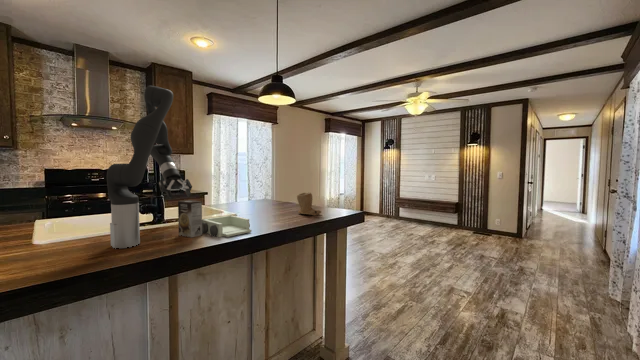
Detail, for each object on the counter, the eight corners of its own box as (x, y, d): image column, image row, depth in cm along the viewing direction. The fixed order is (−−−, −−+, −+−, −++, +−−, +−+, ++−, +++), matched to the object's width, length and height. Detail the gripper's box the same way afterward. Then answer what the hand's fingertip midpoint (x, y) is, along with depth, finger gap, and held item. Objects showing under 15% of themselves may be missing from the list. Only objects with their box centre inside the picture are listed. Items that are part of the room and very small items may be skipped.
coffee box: (177, 235, 130) (177, 201, 129) (190, 232, 136) (189, 199, 135) (191, 237, 126) (190, 202, 125) (202, 234, 132) (202, 200, 131)
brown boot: (293, 214, 188) (293, 192, 187) (305, 212, 197) (305, 191, 196) (309, 217, 178) (309, 193, 177) (321, 214, 187) (322, 192, 186)
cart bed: (221, 239, 124) (221, 225, 123) (199, 231, 137) (199, 219, 137) (256, 231, 138) (256, 219, 137) (233, 225, 151) (233, 214, 151)
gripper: (157, 167, 136) (167, 192, 129) (186, 167, 147) (197, 190, 140) (153, 178, 140) (162, 203, 133) (182, 177, 151) (192, 200, 144)
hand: (180, 196), depth 137 cm, fingers open, 8 cm apart
